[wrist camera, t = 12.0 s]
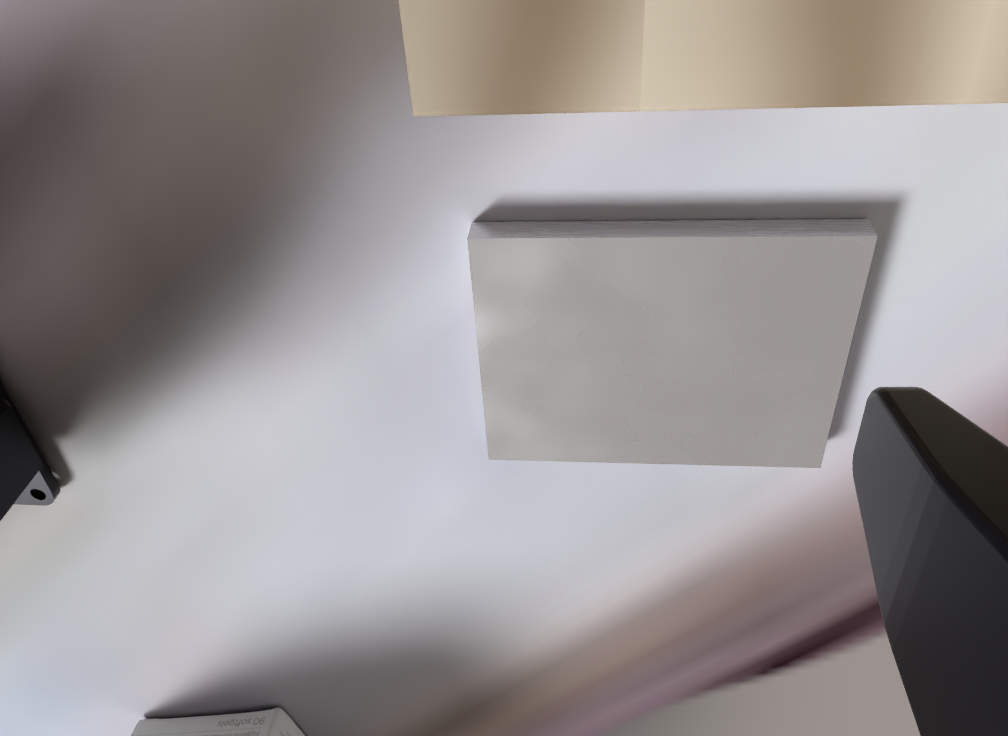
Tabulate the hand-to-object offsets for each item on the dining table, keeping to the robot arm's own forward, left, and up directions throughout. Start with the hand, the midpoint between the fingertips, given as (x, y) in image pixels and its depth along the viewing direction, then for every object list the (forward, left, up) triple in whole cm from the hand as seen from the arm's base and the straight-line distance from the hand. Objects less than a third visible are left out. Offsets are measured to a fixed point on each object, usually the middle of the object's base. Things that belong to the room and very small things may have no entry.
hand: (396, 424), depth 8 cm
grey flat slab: (+4, -7, -11) cm, 14 cm away
